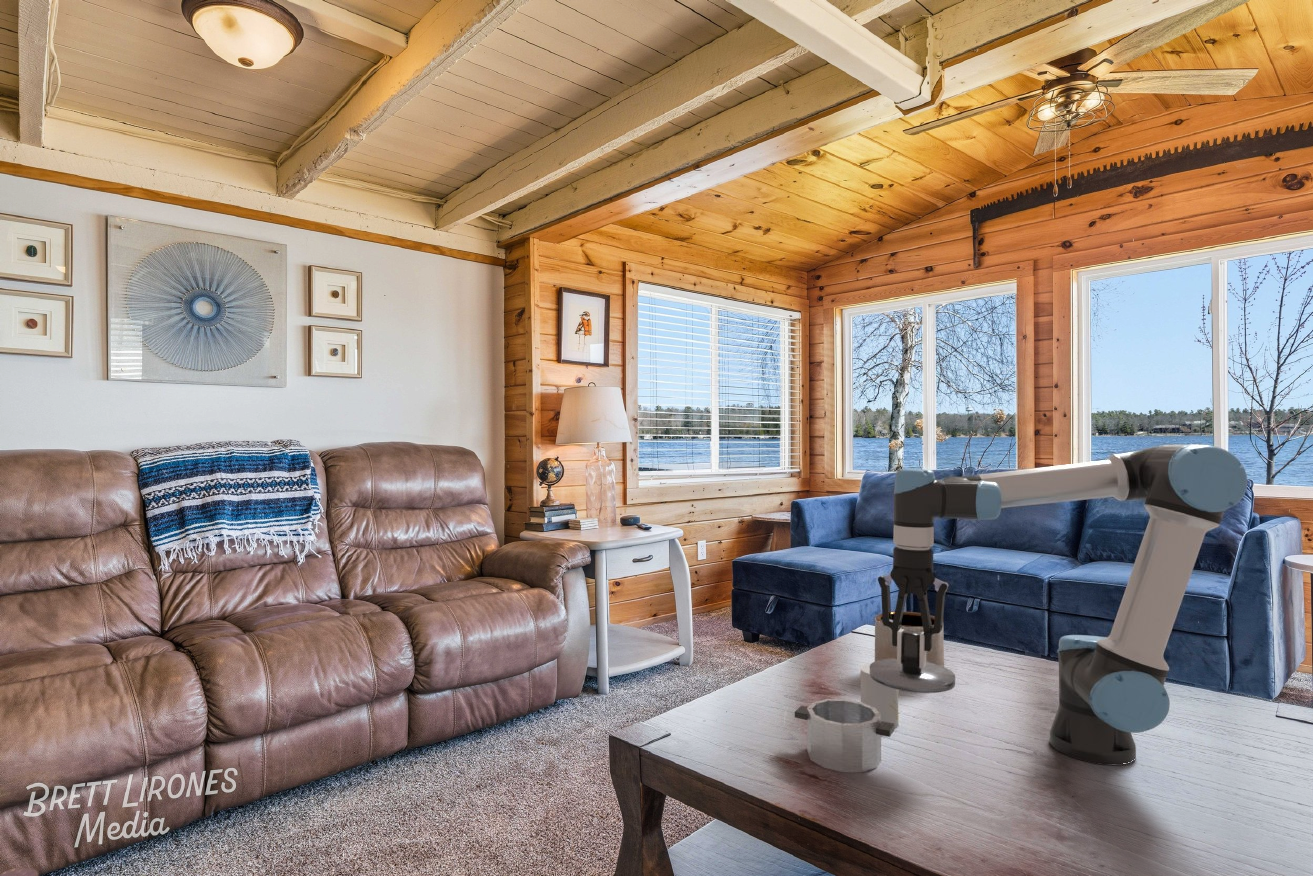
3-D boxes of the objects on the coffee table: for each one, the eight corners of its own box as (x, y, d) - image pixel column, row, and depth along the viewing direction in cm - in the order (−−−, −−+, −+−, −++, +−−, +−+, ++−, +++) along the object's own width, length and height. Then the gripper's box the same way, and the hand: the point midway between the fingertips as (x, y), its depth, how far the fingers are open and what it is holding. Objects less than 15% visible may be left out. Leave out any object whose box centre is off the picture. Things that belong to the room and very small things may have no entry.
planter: (861, 670, 198) (861, 613, 198) (915, 664, 203) (915, 609, 203) (901, 691, 181) (901, 629, 181) (959, 684, 186) (958, 624, 186)
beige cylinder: (900, 731, 156) (900, 676, 156) (862, 728, 158) (862, 674, 158) (896, 717, 164) (895, 665, 164) (859, 715, 166) (859, 663, 166)
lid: (960, 674, 144) (961, 630, 144) (947, 699, 130) (948, 649, 130) (880, 661, 152) (881, 619, 152) (860, 682, 139) (860, 636, 139)
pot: (900, 753, 145) (900, 709, 145) (883, 782, 133) (883, 733, 133) (809, 734, 155) (809, 692, 155) (786, 758, 143) (785, 714, 143)
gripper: (961, 548, 140) (959, 667, 140) (875, 541, 149) (873, 653, 149) (955, 553, 134) (953, 677, 134) (866, 545, 142) (864, 662, 142)
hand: (911, 664), depth 141 cm, fingers closed on lid, 4 cm apart
